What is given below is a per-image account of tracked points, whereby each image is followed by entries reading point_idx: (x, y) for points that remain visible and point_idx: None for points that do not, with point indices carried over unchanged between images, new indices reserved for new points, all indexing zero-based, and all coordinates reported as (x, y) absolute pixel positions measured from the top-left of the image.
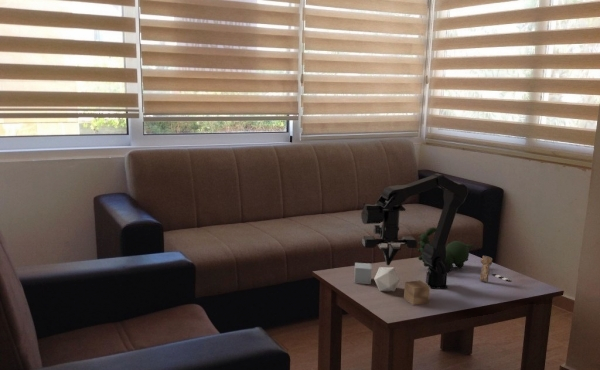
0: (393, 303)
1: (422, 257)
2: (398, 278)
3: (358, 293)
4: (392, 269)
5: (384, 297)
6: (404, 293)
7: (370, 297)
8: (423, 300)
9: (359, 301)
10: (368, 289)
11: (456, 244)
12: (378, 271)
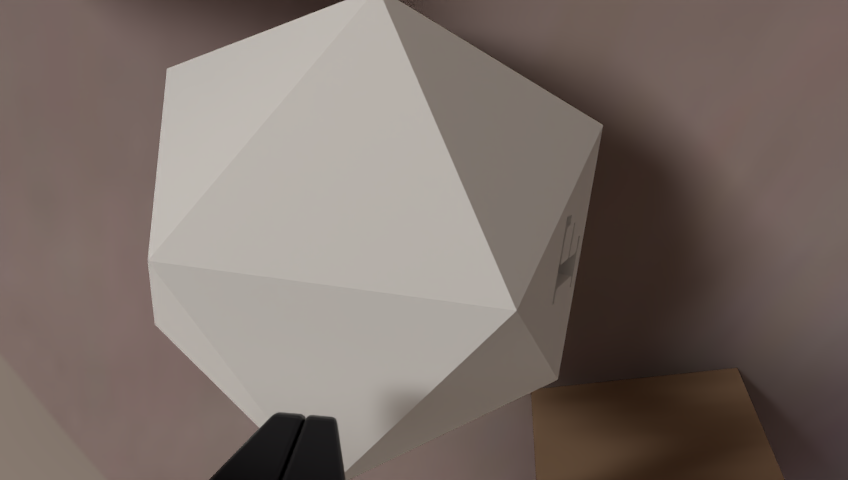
0: (374, 472)
1: None
2: (524, 394)
3: (14, 233)
4: (435, 392)
5: None
6: (534, 437)
7: (157, 340)
8: None
9: (45, 407)
10: (138, 120)
11: None
12: (152, 290)
